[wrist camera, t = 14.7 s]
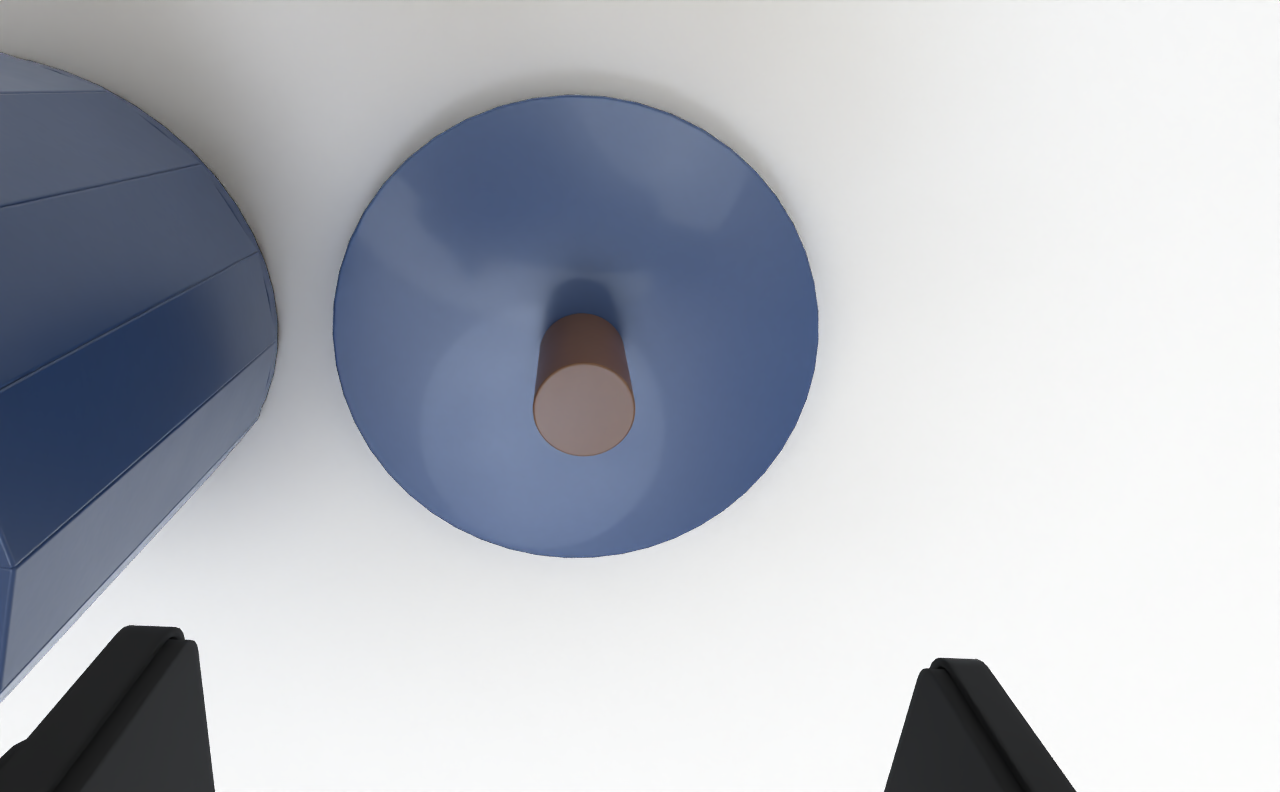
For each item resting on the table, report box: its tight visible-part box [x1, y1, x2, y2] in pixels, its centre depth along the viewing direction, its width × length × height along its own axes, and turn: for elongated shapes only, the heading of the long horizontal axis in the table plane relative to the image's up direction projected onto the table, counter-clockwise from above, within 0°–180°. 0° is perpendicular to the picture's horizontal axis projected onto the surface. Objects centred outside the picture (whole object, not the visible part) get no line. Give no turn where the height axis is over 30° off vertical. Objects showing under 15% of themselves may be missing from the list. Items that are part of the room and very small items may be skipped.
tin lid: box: [333, 95, 818, 558], centre depth 22 cm, size 15×15×6 cm
